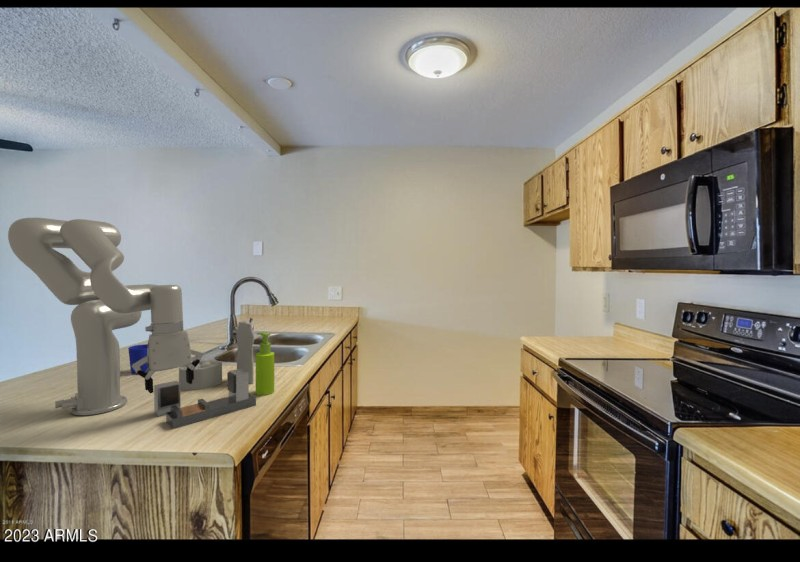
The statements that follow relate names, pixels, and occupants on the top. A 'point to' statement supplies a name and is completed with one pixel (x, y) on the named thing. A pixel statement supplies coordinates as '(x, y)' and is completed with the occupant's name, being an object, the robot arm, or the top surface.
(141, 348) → the mug
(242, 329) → the grey tall slab
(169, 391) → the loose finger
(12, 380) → the top surface
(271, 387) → the soap dispenser
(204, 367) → the lumpy-topped squat cylinder
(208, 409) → the rail
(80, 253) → the robot arm
